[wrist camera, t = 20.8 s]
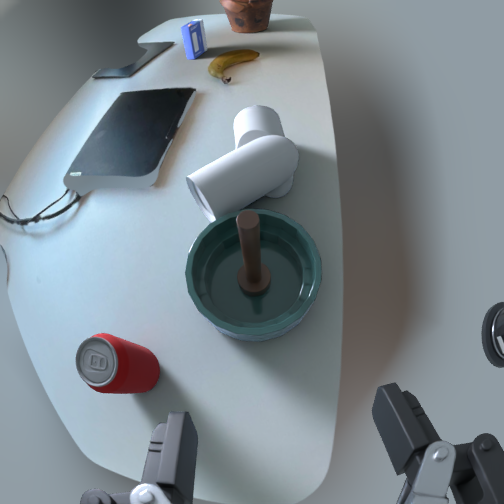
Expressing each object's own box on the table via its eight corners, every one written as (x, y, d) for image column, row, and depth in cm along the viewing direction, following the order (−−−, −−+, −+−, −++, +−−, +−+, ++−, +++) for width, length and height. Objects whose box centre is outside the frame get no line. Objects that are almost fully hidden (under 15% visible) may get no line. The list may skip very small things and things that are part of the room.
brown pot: (212, 34, 80) (206, -8, 64) (242, 19, 87) (240, -18, 71) (255, 40, 75) (253, -7, 59) (283, 25, 82) (283, -15, 66)
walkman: (194, 59, 71) (188, 26, 60) (187, 59, 71) (180, 26, 60) (208, 49, 74) (203, 17, 63) (200, 49, 74) (195, 18, 63)
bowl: (312, 233, 44) (318, 211, 38) (313, 344, 36) (321, 337, 31) (204, 229, 45) (196, 207, 39) (189, 336, 38) (176, 328, 32)
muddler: (271, 267, 41) (273, 199, 26) (269, 297, 39) (272, 242, 24) (239, 265, 41) (225, 198, 27) (237, 295, 39) (219, 240, 25)
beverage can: (122, 343, 37) (75, 325, 26) (164, 349, 37) (126, 335, 26) (117, 388, 34) (67, 384, 24) (160, 397, 34) (119, 400, 23)
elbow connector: (314, 219, 43) (290, 132, 52) (307, 176, 34) (279, 89, 42) (204, 244, 46) (203, 155, 55) (173, 211, 37) (180, 118, 46)
